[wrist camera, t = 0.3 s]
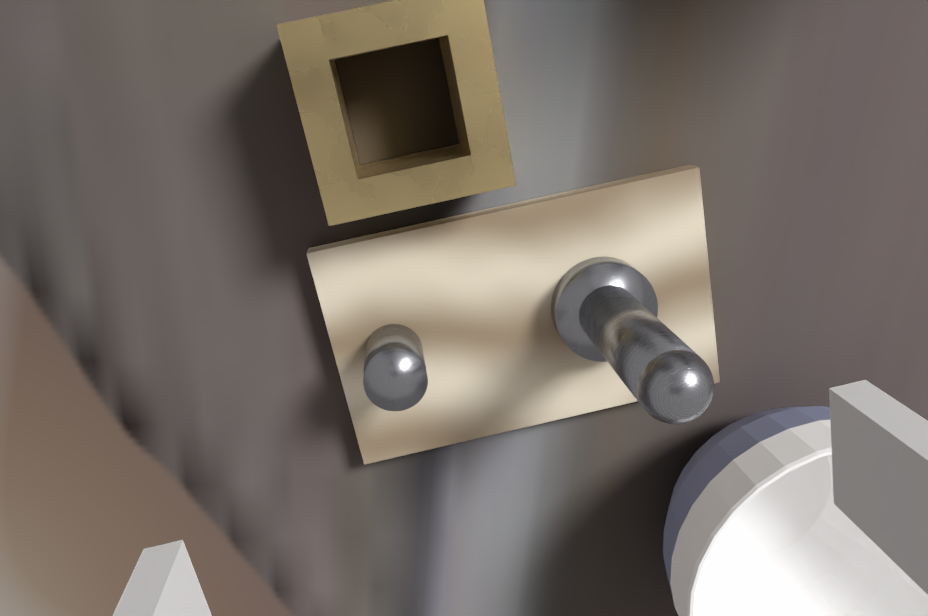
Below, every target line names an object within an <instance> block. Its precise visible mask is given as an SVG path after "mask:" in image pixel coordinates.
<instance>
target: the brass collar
mask: <svg viewBox="0 0 928 616" xmlns="http://www.w3.org/2000/svg"><path fill="white" fill-rule="evenodd" d="M277 29H278V33H279V37H280V41H281V44H282V48H283V52H284V56H285V60H286V64H287V67H288V71H289V75H290V79H291V83H292V87H293V90H294V94H295V98H296V102H297V106H298V110H299V113H300V117H301V121H302V125H303V129H304V133H305V136H306V140H307V144H308V148H309V152H310V156H311V159H312V163H313V167H314V171H315V175H316V179H317V182H318V186H319V190H320V194H321V198H322V202H323V205H324V209H325V213H326V217H327V221H328V225H329V226H332V225H337V224H341V223H346V222H350V221H355V220H360V219H364V218H369V217H373V216H378V215H382V214H387V213H392V212H396V211H401V210H405V209H410V208H415V207H419V206H424V205H428V204H433V203H438V202H442V201H447V200H451V199H456V198H461V197H465V196H470V195H474V194H479V193H483V192H488V191H493V190H497V189H502V188H506V187H511V186H516V182H515V176H514V170H513V165H512V159H511V153H510V148H509V142H508V136H507V131H506V125H505V119H504V113H503V108H502V102H501V96H500V91H499V85H498V79H497V74H496V68H495V62H494V56H493V51H492V45H491V39H490V34H489V28H488V22H487V17H486V11H485V5H484V0H394V1H389V2H384V3H379V4H374V5H369V6H364V7H360V8H355V9H350V10H345V11H340V12H335V13H330V14H326V15H321V16H316V17H311V18H306V19H301V20H296V21H292V22H287V23H282V24H277ZM438 38H439V44H440V49H441V54H442V59H443V64H444V69H445V74H446V79H447V84H448V89H449V94H450V100H451V105H452V110H453V115H454V120H455V125H456V130H457V135H458V140H459V144H455V145H450V146H445V147H441V148H436V149H431V150H427V151H422V152H417V153H413V154H408V155H403V156H399V157H394V158H389V159H385V160H380V161H375V162H371V163H366V164H361V165H360V163H359V159H358V154H357V150H356V146H355V142H354V138H353V134H352V129H351V125H350V121H349V117H348V113H347V109H346V105H345V100H344V96H343V92H342V88H341V84H340V80H339V75H338V71H337V67H336V63H335V60H337V59H342V58H347V57H351V56H356V55H361V54H366V53H371V52H375V51H380V50H385V49H390V48H395V47H399V46H404V45H409V44H414V43H419V42H423V41H428V40H433V39H438Z"/></svg>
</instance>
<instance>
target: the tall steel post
mask: <svg viewBox="0 0 928 616" xmlns="http://www.w3.org/2000/svg"><path fill="white" fill-rule="evenodd" d="M657 315H658V302H657V296H656V293H655V291H654V289H653V287H652V285H651V283H650V282H649V281H648V279H647V278H646V277H645V276H644V275H643V274H641V273H640V272H639V271H638V270H636V269H635V268H634V267H632V266H631V265H630V264H628V263H627V262H625V261H623V260H620V259H617V258H613V257H594V258H590V259H587V260H584V261H582V262H580V263H578V264H576V265H575V266H573V267H572V268H571V269H569V270H568V271H567V272H566V273H565V274H564V275H563V277H562V278H561V279H560V281H559V282H558V284H557V286H556V288H555V290H554V293H553V296H552V301H551V316H552V320H553V323H554V326H555V328H556V330H557V331H558V333H559V335H560V336H561V337H562V339H563V340H564V342H565V343H566V345H567V346H568V347H569V348H570V349H571V350H572V351H573V352H575V353H576V354H577V355H579V356H581V357H583V358H585V359H588V360H592V361H598V362H608V363H609V365H610V366H611V367H612V368H613V370H614V371H615V372H616V374H617V375H618V376H619V378H620V379H621V380H622V381H623V383H624V384H625V385H626V387H627V388H628V389H629V390H630V392H631V393H632V394H633V396H634V397H635V398H636V399H637V401H638V402H639V403H640V405H641V406H642V407H643V409H644V410H645V411H646V412H647V413H648V414H649V415H651V416H652V417H653V418H655V419H657V420H659V421H662V422H665V423H669V424H682V423H687V422H690V421H692V420H694V419H696V418H698V417H699V416H700V415H702V414H703V413H704V412H705V410H706V409H707V408H708V406H709V405H710V403H711V401H712V398H713V394H714V379H713V375H712V372H711V370H710V368H709V366H708V365H707V364H706V362H705V361H704V360H703V359H702V358H701V357H700V356H699V355H698V354H696V353H695V352H694V351H693V350H692V349H691V348H690V347H689V346H688V345H687V344H685V343H684V342H683V341H682V340H681V339H680V338H679V337H678V336H677V335H676V334H674V333H673V332H672V331H671V330H670V329H669V328H668V327H667V326H666V325H665V324H663V323H662V322H661V321H660V320H659V319H658V318H657Z"/></svg>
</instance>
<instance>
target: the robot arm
mask: <svg viewBox="0 0 928 616" xmlns="http://www.w3.org/2000/svg"><path fill="white" fill-rule="evenodd" d="M829 397H830V422H831V446H832V470H833V495H834V504H835V505H836V506H837V507H838V508H839V509H840V510H841V511H842V512H843V513H844V514H845V515H846V516H847V517H848V518H849V519H850V520H851V521H852V522H853V523H854V524H855V525H856V526H857V527H858V528H860V529H861V530H862V531H863V532H864V533H865V534H866V535H867V536H868V537H869V538H870V539H871V540H872V541H873V542H874V543H875V544H876V545H877V546H878V547H879V548H880V549H881V550H882V551H883V552H884V553H885V554H886V555H887V556H888V557H889V558H890V559H891V560H892V561H893V562H894V563H895V564H897V565H898V566H899V567H900V568H901V569H902V570H903V571H904V572H905V573H906V574H907V575H908V576H909V577H910V578H911V579H912V580H913V581H914V582H915V583H916V584H917V585H918V586H919V587H920V588H921V589H922V590H923V591H924V592H925V593H926V594H927V595H928V421H927V420H926V419H924V418H923V417H921V416H920V415H918V414H916V413H915V412H913V411H912V410H910V409H909V408H907V407H906V406H904V405H903V404H901V403H900V402H898V401H897V400H895V399H894V398H892V397H891V396H889V395H888V394H886V393H885V392H883V391H882V390H880V389H879V388H877V387H876V386H874V385H872V384H871V383H869V382H868V381H866V380H863V381H858V382H854V383H850V384H845V385H841V386H837V387H833V388H829ZM113 616H212V615H211V612H210V610H209V607H208V605H207V602H206V599H205V597H204V594H203V592H202V589H201V586H200V584H199V581H198V578H197V576H196V573H195V570H194V568H193V565H192V563H191V560H190V558H189V555H188V552H187V550H186V547H185V544H184V542H183V540H180V541H176V542H172V543H167V544H163V545H158V546H154V547H150V548H146V549H143V552H142V553H141V556H140V558H139V560H138V562H137V564H136V566H135V568H134V571H133V573H132V575H131V577H130V579H129V581H128V584H127V586H126V588H125V590H124V592H123V595H122V596H121V599H120V601H119V603H118V605H117V607H116V609H115V611H114V614H113Z"/></svg>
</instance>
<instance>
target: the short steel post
mask: <svg viewBox="0 0 928 616" xmlns="http://www.w3.org/2000/svg"><path fill="white" fill-rule="evenodd" d="M363 385H364V390H365V393H366V395H367V397H368V398H369V400H370V401H371V402H372V403H373V404H374V405H376V406H377V407H379V408H381V409H384V410H387V411H403V410H406V409H409V408H411V407H413V406H414V405H416V404H417V403H418V402H419V401H420V400H421V399H422V398H423V396H424V394H425V392H426V389H427V385H428V378H427V371H426V365H425V359H424V353H423V347H422V343H421V340H420V338H419V337H418V335H417V334H416V333H415V332H414V331H413V330H412V329H410V328H408V327H406V326H404V325H400V324H388V325H384V326H382V327H380V328H378V329H376V330H375V331H374V332H373V333H372V334H371V335H370V336H369V338H368V339H367V342H366V344H365V350H364V377H363Z"/></svg>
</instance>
